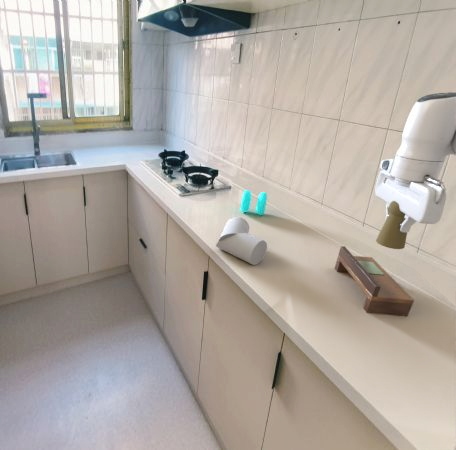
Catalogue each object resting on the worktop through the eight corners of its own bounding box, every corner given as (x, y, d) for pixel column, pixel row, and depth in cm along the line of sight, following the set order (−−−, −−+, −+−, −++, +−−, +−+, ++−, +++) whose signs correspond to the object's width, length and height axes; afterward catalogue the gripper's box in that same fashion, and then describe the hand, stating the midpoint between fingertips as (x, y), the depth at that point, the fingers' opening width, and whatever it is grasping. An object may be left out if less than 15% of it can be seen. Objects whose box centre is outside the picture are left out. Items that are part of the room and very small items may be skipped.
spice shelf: (367, 271, 106) (374, 248, 103) (407, 316, 86) (418, 290, 83) (334, 268, 107) (340, 246, 104) (366, 312, 87) (375, 286, 84)
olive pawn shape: (381, 247, 81) (395, 204, 77) (372, 236, 86) (385, 196, 82) (409, 250, 80) (425, 207, 75) (398, 239, 85) (413, 198, 81)
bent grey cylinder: (198, 243, 117) (245, 267, 103) (205, 214, 114) (254, 234, 100) (228, 240, 129) (274, 261, 115) (236, 213, 126) (284, 232, 112)
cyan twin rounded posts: (241, 207, 154) (244, 186, 150) (264, 211, 151) (267, 189, 147) (239, 215, 146) (242, 193, 142) (263, 219, 143) (267, 196, 139)
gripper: (464, 184, 66) (438, 246, 72) (403, 160, 85) (387, 211, 90) (430, 182, 66) (407, 244, 72) (377, 159, 85) (362, 210, 91)
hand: (396, 226), depth 81 cm, fingers closed on olive pawn shape, 4 cm apart
